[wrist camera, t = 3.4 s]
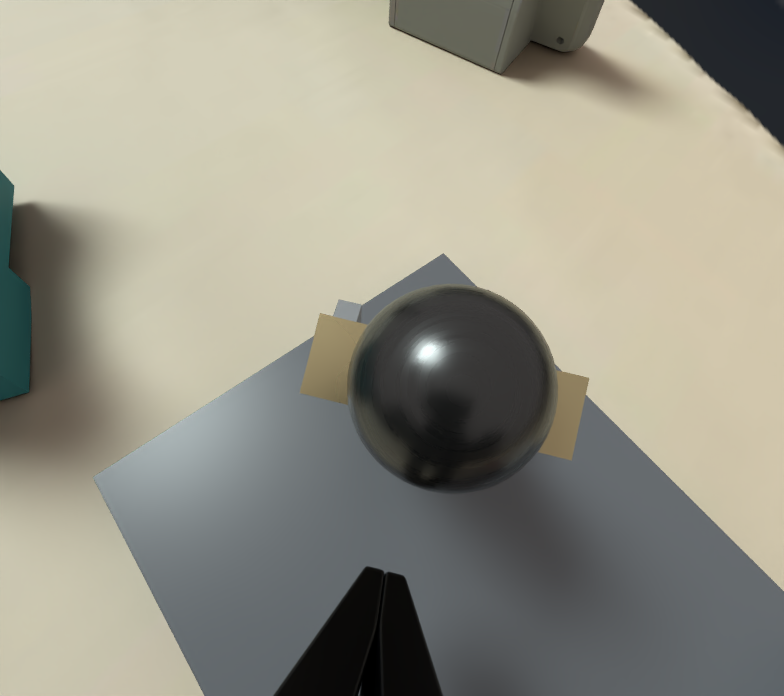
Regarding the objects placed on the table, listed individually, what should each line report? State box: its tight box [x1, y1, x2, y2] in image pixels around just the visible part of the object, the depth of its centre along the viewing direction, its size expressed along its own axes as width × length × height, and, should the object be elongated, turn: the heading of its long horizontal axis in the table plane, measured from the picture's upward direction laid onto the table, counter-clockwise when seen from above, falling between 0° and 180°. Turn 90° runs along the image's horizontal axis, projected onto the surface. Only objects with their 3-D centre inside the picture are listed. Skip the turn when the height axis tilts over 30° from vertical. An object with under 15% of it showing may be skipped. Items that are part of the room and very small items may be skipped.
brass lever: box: [300, 284, 589, 494], centre depth 10 cm, size 3×4×12 cm, turn 77°
